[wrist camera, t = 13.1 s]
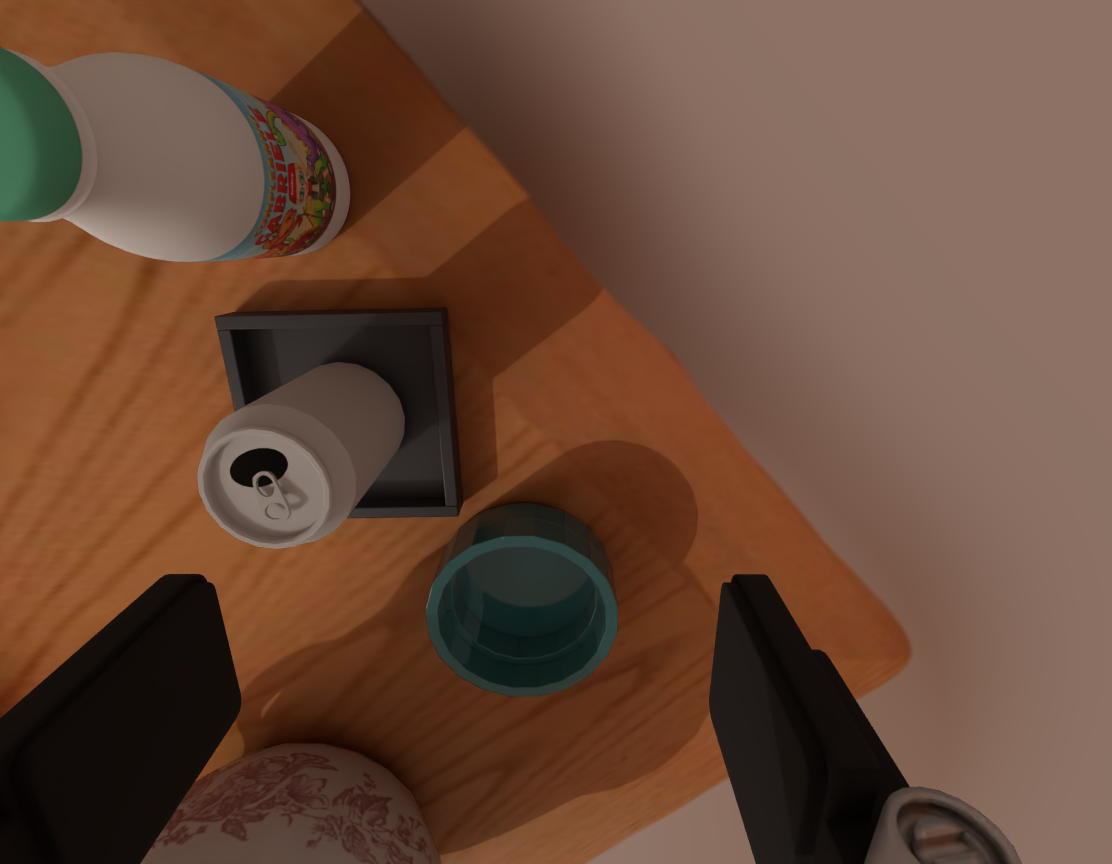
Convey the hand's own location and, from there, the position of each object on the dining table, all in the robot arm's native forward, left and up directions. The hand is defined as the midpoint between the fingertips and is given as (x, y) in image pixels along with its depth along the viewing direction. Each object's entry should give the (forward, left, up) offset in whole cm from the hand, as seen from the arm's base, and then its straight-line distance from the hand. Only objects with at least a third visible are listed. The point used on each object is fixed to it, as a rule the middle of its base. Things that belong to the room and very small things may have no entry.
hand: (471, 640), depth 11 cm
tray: (+4, -12, -28) cm, 31 cm away
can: (+4, -12, -27) cm, 30 cm away
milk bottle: (-10, -14, -28) cm, 33 cm away
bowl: (+17, -1, -28) cm, 33 cm away
